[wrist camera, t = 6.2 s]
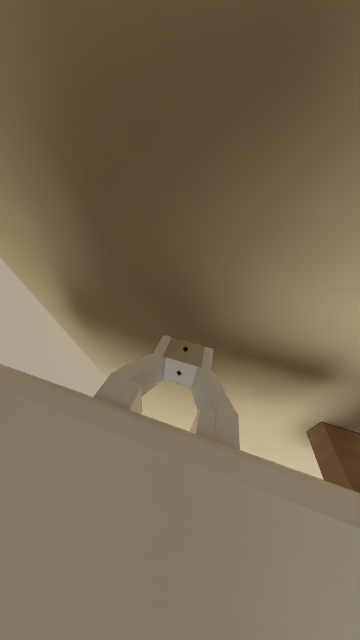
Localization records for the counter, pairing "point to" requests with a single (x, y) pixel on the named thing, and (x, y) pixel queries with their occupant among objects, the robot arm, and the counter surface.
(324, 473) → the bridge
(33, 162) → the counter surface
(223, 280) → the counter surface
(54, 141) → the counter surface
